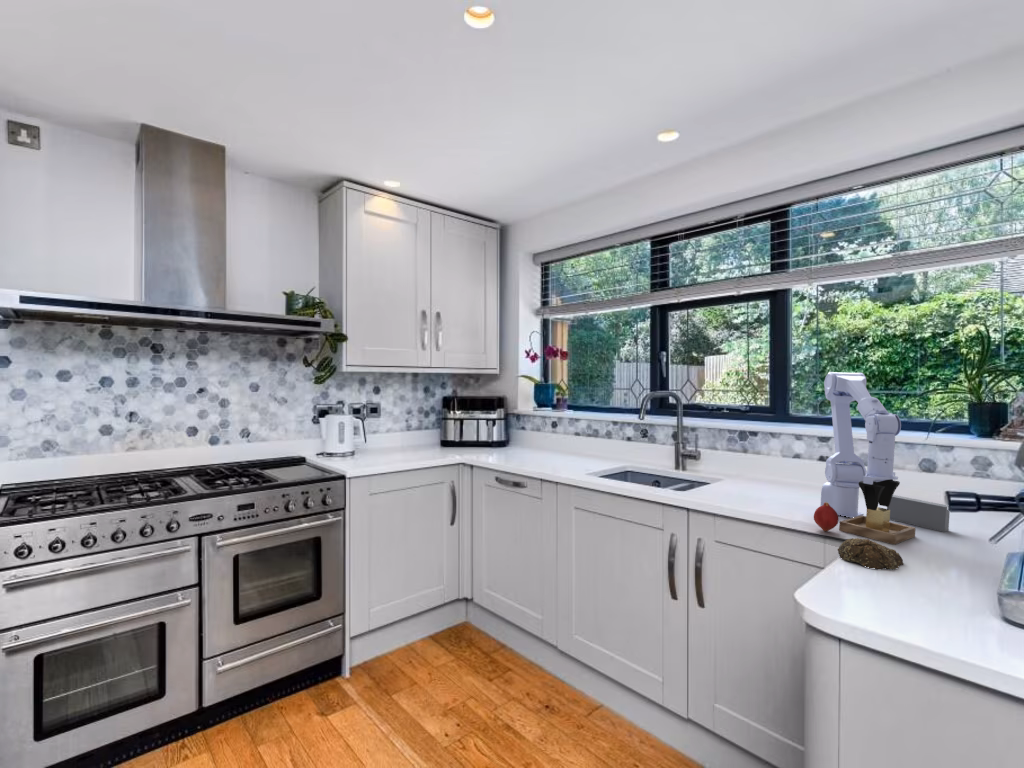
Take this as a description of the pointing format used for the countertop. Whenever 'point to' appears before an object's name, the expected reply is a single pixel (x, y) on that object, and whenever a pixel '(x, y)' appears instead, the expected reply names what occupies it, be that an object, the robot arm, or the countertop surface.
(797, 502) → the countertop surface
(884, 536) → the tray
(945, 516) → the wall unit
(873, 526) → the brass block
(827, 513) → the onion
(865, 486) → the robot arm
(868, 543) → the bread roll
